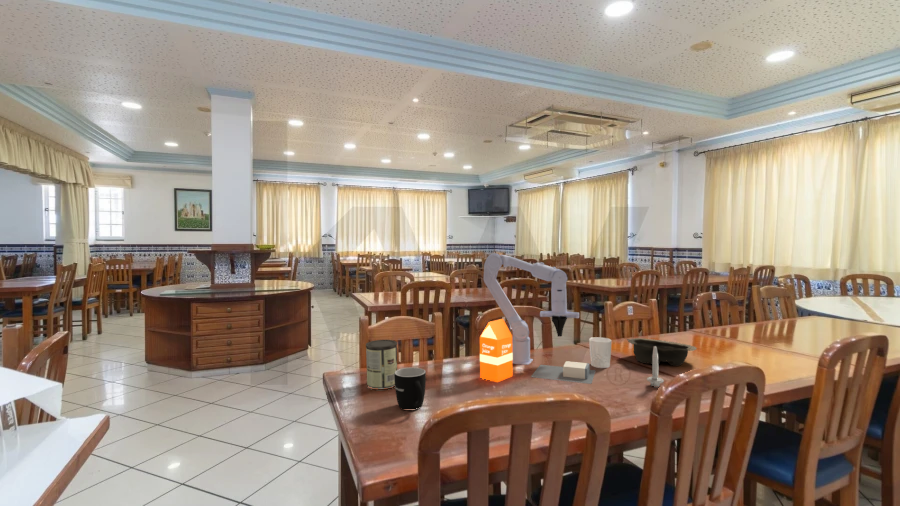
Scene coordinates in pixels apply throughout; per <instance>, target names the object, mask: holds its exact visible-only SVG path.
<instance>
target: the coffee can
mask: <svg viewBox="0 0 900 506" xmlns="http://www.w3.org/2000/svg"><path fill="white" fill-rule="evenodd" d="M365 352H366V354H365V357H366V386H367V385H368V386H369V387H372V388H378V389H384V388H390V387H393V386H395V378H394V373H395V371H397V370H398V342H397V341H396V340H393V339H377V340H371V341H368V342H366V343H365Z"/></svg>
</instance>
